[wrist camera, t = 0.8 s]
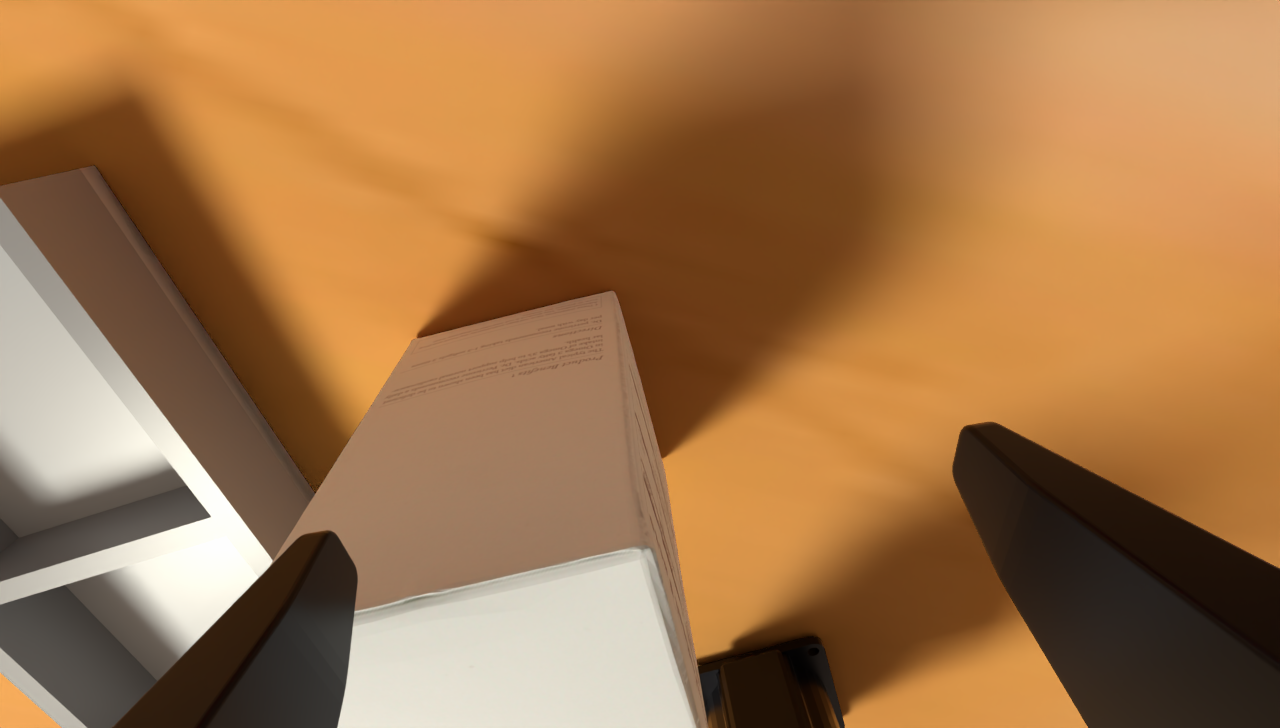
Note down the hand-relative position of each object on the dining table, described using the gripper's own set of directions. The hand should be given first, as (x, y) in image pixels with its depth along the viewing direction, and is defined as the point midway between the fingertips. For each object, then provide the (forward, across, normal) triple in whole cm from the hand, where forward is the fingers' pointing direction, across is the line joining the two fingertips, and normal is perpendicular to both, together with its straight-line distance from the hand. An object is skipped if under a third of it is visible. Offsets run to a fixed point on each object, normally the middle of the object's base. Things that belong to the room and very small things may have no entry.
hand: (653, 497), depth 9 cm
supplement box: (+12, +3, +7) cm, 14 cm away
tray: (+12, +18, +9) cm, 23 cm away
